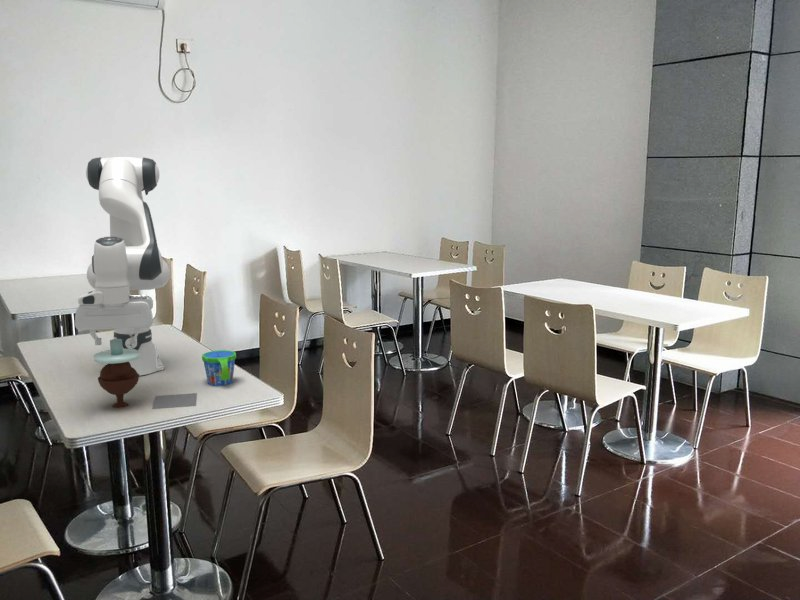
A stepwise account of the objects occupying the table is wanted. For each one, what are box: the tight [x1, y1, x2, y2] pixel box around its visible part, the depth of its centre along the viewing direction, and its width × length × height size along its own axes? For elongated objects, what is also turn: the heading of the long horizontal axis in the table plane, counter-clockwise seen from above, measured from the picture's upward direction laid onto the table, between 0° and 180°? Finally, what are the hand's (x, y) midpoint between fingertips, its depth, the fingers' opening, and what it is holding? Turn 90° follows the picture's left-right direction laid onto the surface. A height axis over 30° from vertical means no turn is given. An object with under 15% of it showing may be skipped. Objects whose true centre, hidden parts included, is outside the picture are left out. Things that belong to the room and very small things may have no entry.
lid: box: [93, 338, 140, 365], centre depth 197 cm, size 12×12×5 cm
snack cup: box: [201, 349, 237, 387], centre depth 222 cm, size 16×10×10 cm
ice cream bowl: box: [97, 362, 140, 409], centre depth 199 cm, size 11×11×15 cm
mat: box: [151, 392, 198, 410], centre depth 205 cm, size 12×12×1 cm
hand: (116, 343), depth 197 cm, fingers open, 8 cm apart
